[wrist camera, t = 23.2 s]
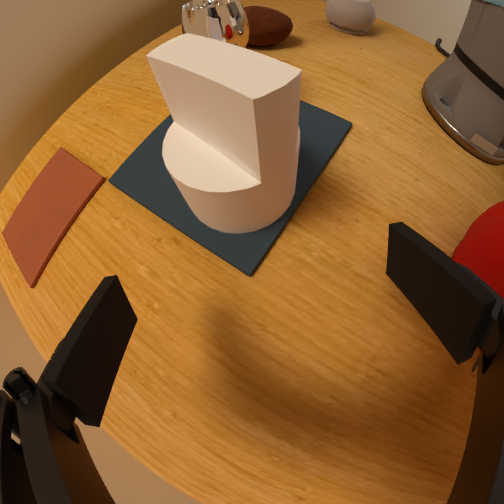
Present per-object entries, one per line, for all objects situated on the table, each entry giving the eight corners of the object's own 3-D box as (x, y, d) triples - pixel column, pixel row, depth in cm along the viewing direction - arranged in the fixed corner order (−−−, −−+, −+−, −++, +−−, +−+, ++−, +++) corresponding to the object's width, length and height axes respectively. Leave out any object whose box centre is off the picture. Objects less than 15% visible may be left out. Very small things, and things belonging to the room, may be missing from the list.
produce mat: (62, 149, 27) (60, 147, 26) (105, 179, 24) (102, 177, 24) (4, 234, 24) (1, 233, 23) (33, 288, 21) (30, 287, 20)
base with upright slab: (317, 180, 21) (342, 53, 10) (239, 257, 20) (195, 148, 8) (240, 128, 24) (221, 16, 12) (166, 189, 22) (100, 84, 11)
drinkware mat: (218, 77, 28) (217, 74, 27) (351, 126, 24) (352, 122, 23) (110, 183, 24) (107, 180, 23) (250, 277, 20) (249, 275, 19)
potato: (245, 30, 32) (241, -1, 26) (299, 39, 30) (299, 5, 24) (220, 47, 31) (213, 12, 25) (279, 57, 29) (278, 17, 22)
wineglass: (246, 118, 24) (230, 9, 13) (194, 112, 25) (162, 16, 14) (263, 86, 26) (255, -9, 14) (215, 82, 27) (195, -5, 15)
